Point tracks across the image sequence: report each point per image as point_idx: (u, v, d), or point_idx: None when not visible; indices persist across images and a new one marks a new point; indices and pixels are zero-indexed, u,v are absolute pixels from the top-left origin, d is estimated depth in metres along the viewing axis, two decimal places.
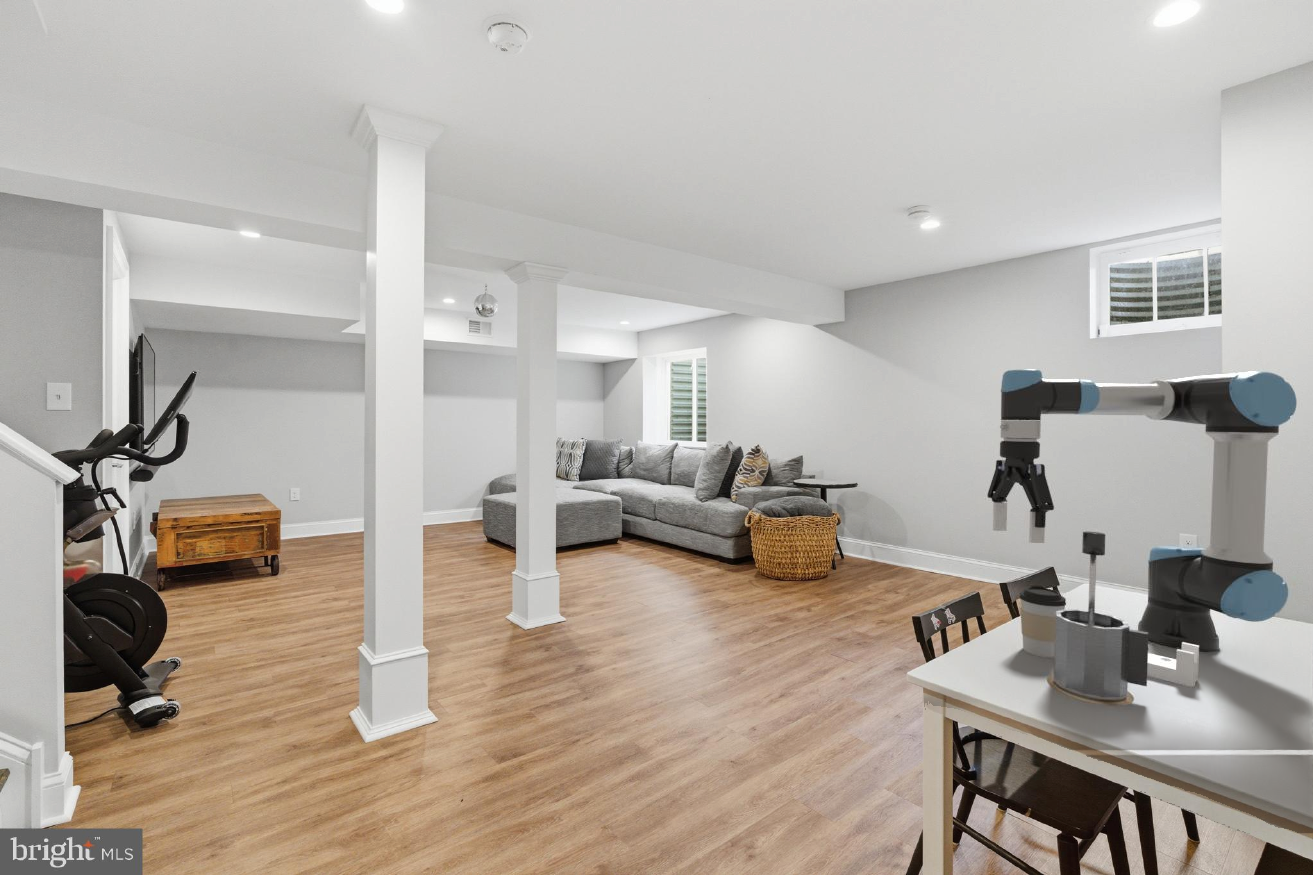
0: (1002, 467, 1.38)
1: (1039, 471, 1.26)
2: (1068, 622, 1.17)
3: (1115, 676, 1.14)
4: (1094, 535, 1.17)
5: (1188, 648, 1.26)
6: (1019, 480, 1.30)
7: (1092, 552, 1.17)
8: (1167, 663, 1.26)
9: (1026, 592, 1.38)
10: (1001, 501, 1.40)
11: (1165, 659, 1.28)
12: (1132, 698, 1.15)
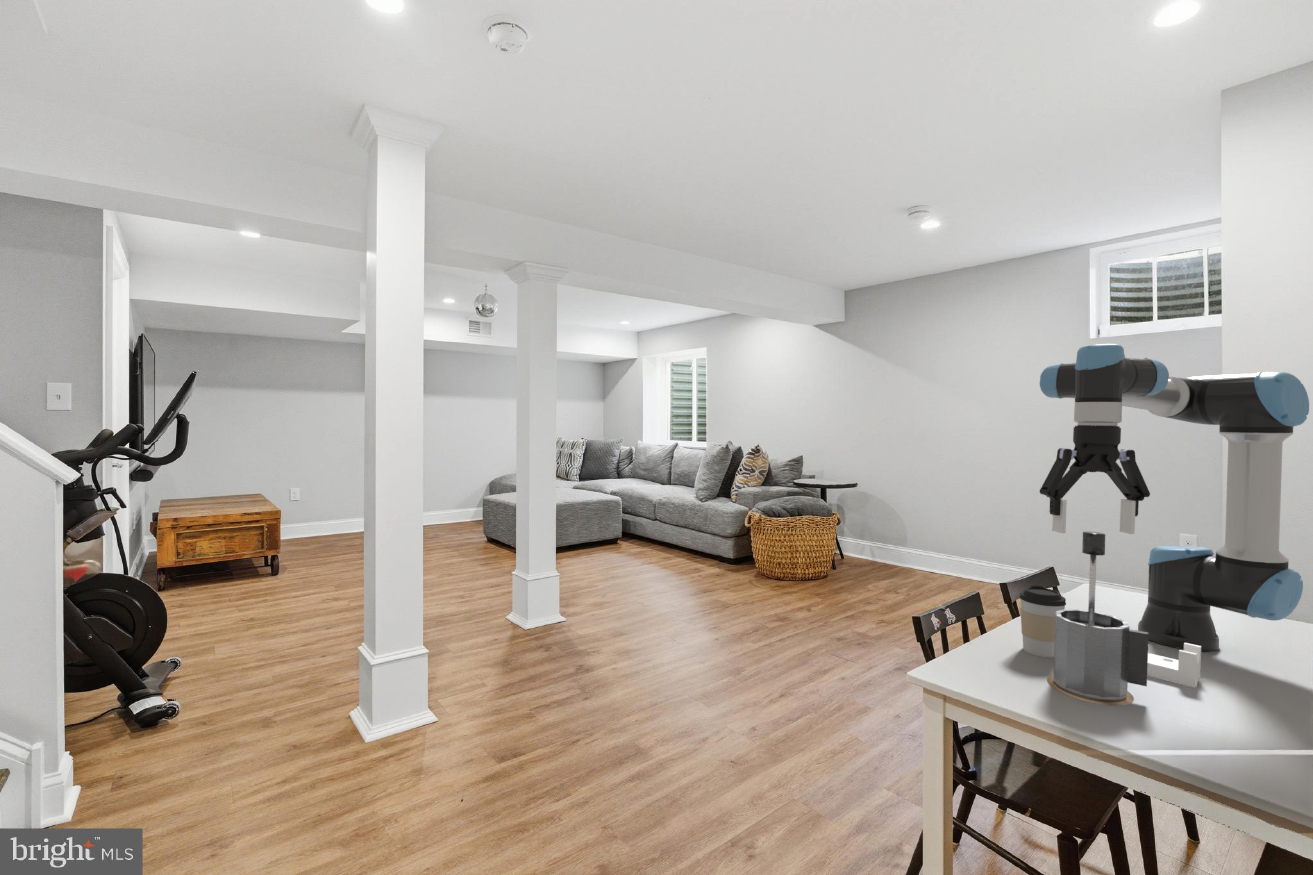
0: None
1: (1061, 456, 1.18)
2: (1068, 622, 1.17)
3: (1115, 676, 1.14)
4: (1094, 535, 1.17)
5: (1190, 649, 1.25)
6: None
7: (1092, 552, 1.17)
8: (1169, 663, 1.25)
9: (1026, 592, 1.38)
10: (1130, 499, 1.18)
11: (1167, 660, 1.28)
12: (1132, 698, 1.15)
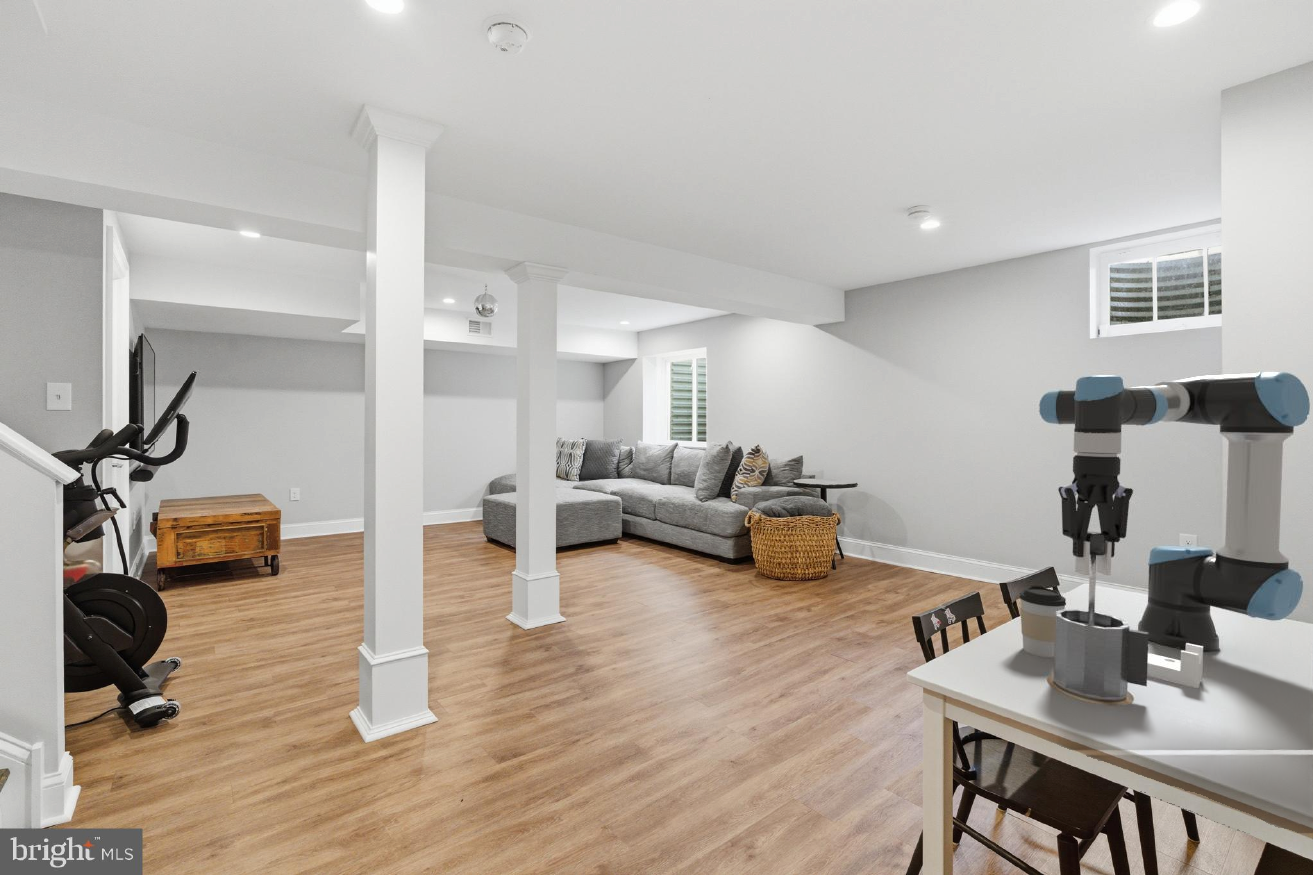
0: None
1: (1064, 496, 1.18)
2: (1068, 622, 1.17)
3: (1115, 676, 1.14)
4: (1094, 535, 1.17)
5: (1192, 649, 1.25)
6: None
7: (1092, 552, 1.17)
8: (1171, 664, 1.25)
9: (1026, 592, 1.38)
10: (1107, 540, 1.18)
11: (1169, 660, 1.28)
12: (1132, 698, 1.15)
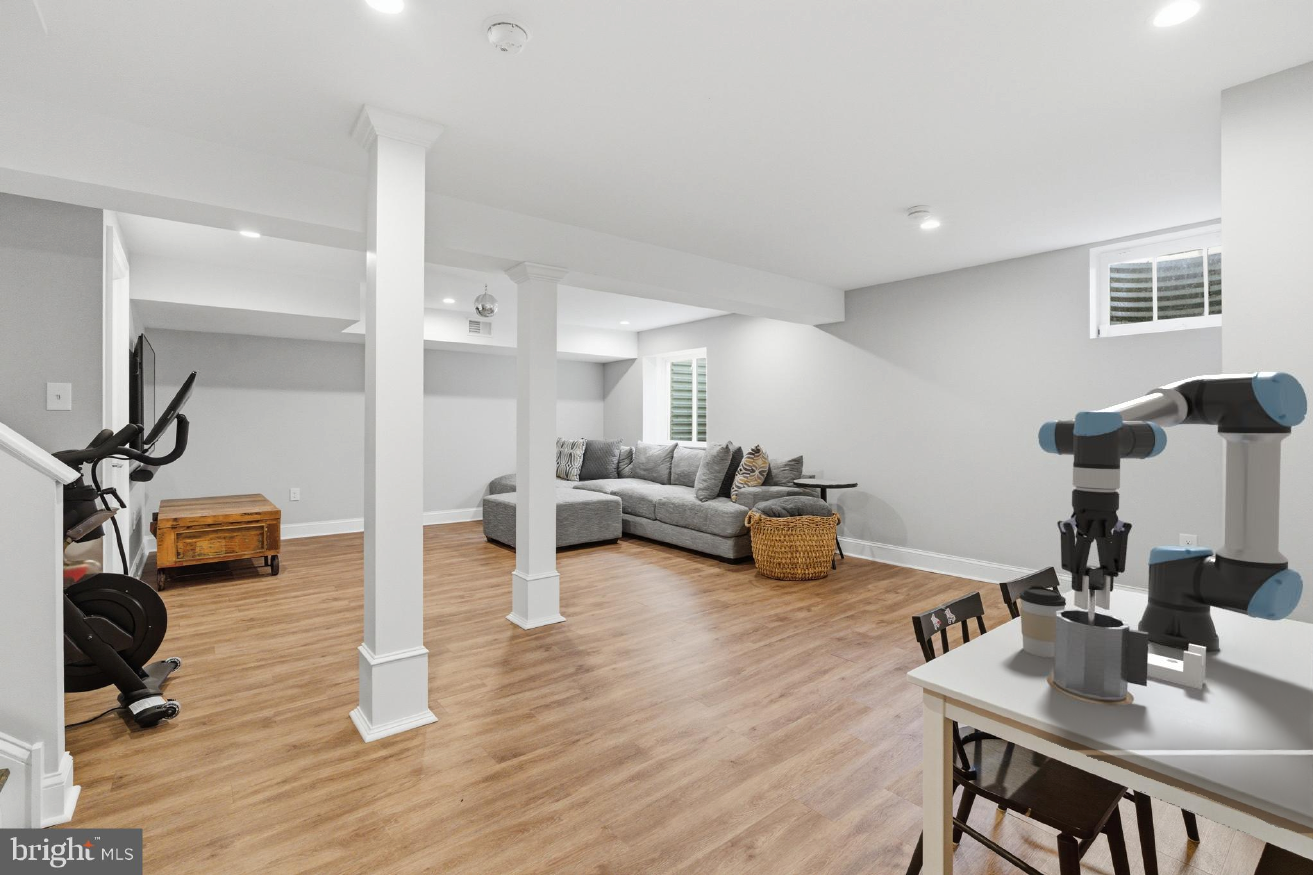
0: None
1: (1063, 530, 1.18)
2: (1068, 622, 1.17)
3: (1115, 676, 1.14)
4: (1093, 570, 1.17)
5: (1195, 650, 1.25)
6: None
7: (1091, 587, 1.17)
8: (1174, 665, 1.25)
9: (1026, 592, 1.38)
10: (1105, 574, 1.18)
11: (1172, 661, 1.28)
12: (1132, 698, 1.15)
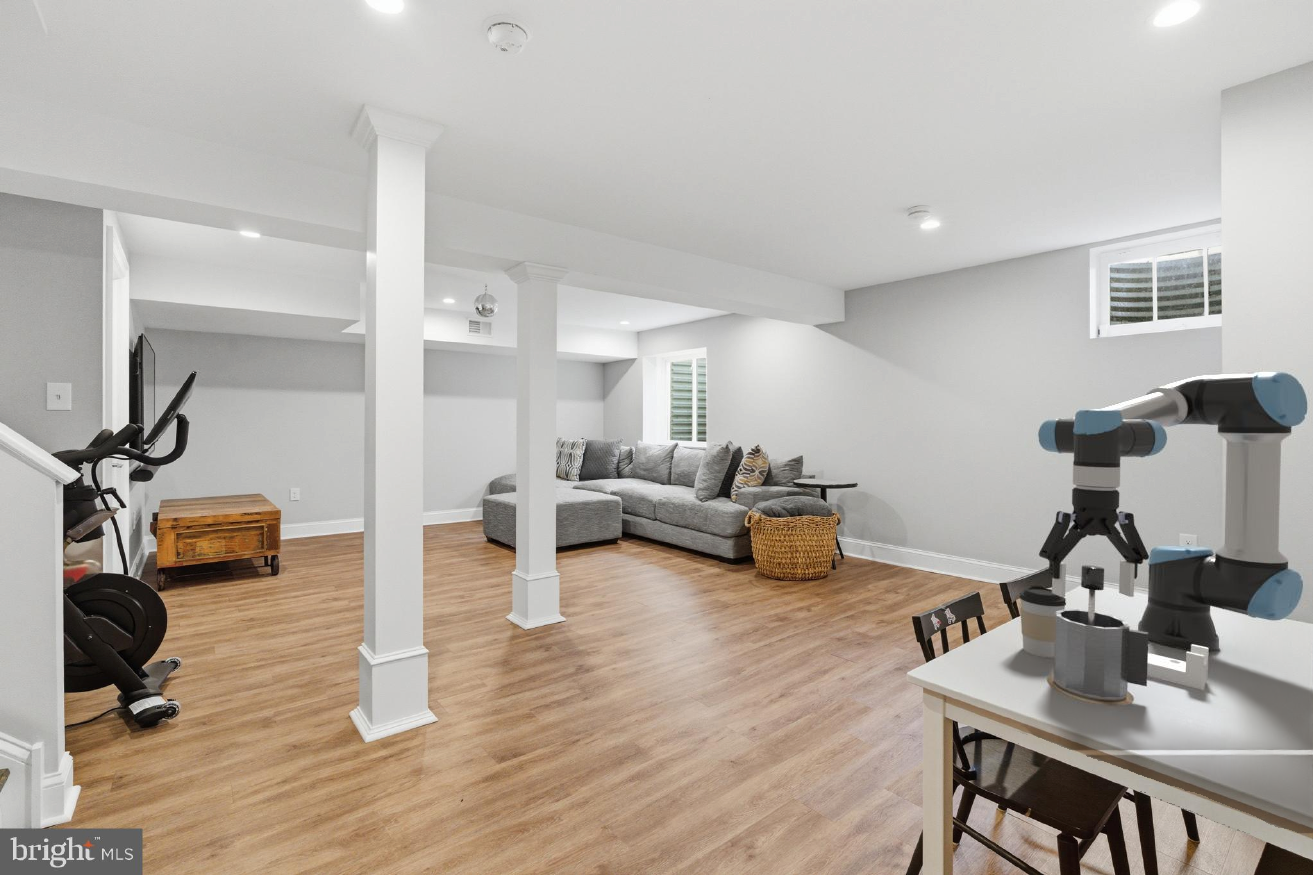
0: (1118, 519, 1.19)
1: (1060, 519, 1.18)
2: (1068, 622, 1.17)
3: (1115, 676, 1.14)
4: (1093, 570, 1.17)
5: (1197, 651, 1.24)
6: None
7: (1091, 587, 1.17)
8: (1176, 665, 1.25)
9: (1026, 592, 1.38)
10: (1129, 561, 1.18)
11: (1174, 661, 1.27)
12: (1132, 698, 1.15)
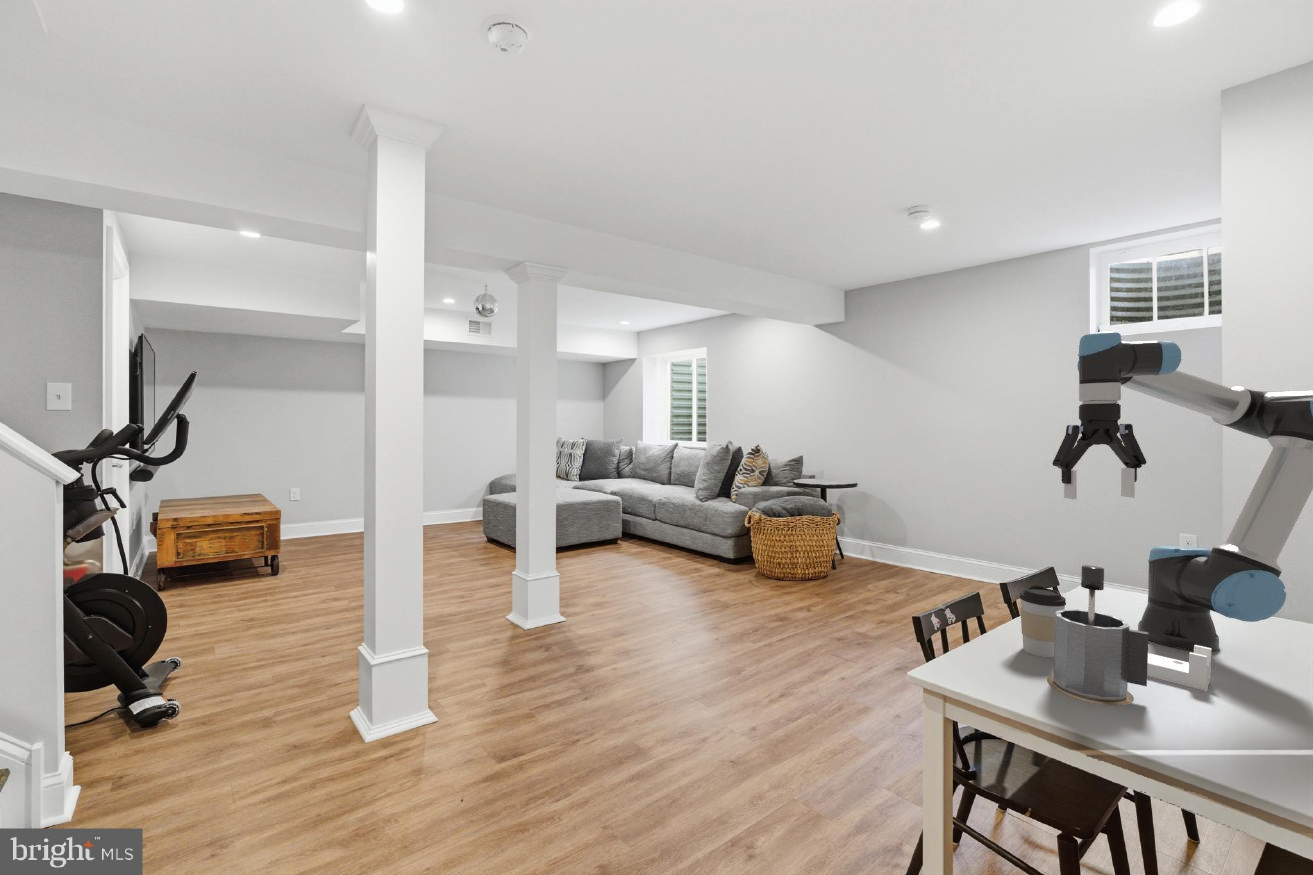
0: (1119, 431, 1.35)
1: (1070, 431, 1.34)
2: (1068, 622, 1.17)
3: (1115, 676, 1.14)
4: (1093, 570, 1.17)
5: (1200, 651, 1.24)
6: None
7: (1091, 587, 1.17)
8: (1179, 666, 1.24)
9: (1026, 592, 1.38)
10: (1130, 467, 1.35)
11: (1177, 662, 1.27)
12: (1132, 698, 1.15)
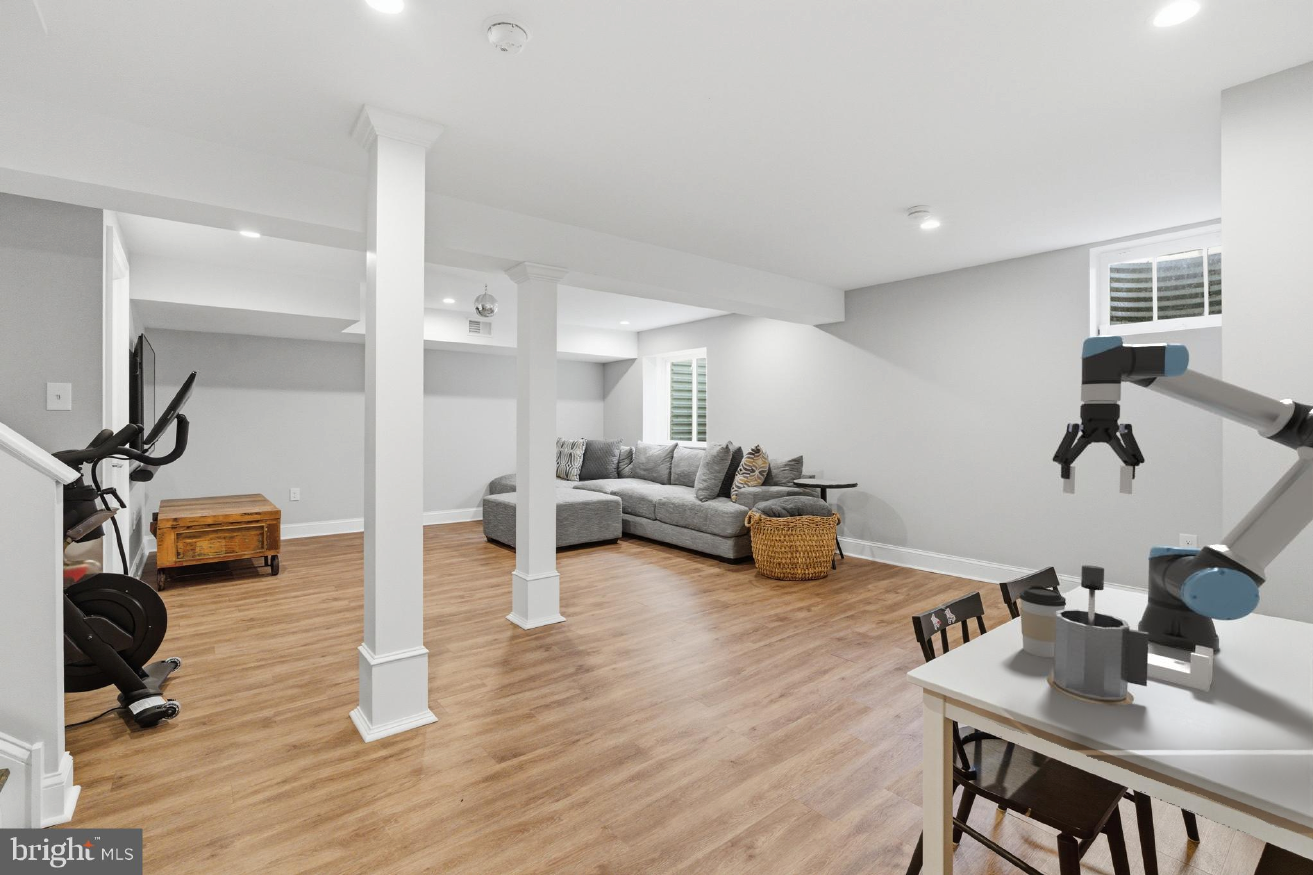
0: (1119, 430, 1.42)
1: (1070, 429, 1.41)
2: (1068, 622, 1.17)
3: (1115, 676, 1.14)
4: (1093, 570, 1.17)
5: (1202, 652, 1.24)
6: None
7: (1091, 587, 1.17)
8: (1181, 666, 1.24)
9: (1026, 592, 1.38)
10: (1128, 465, 1.41)
11: (1178, 662, 1.27)
12: (1132, 698, 1.15)
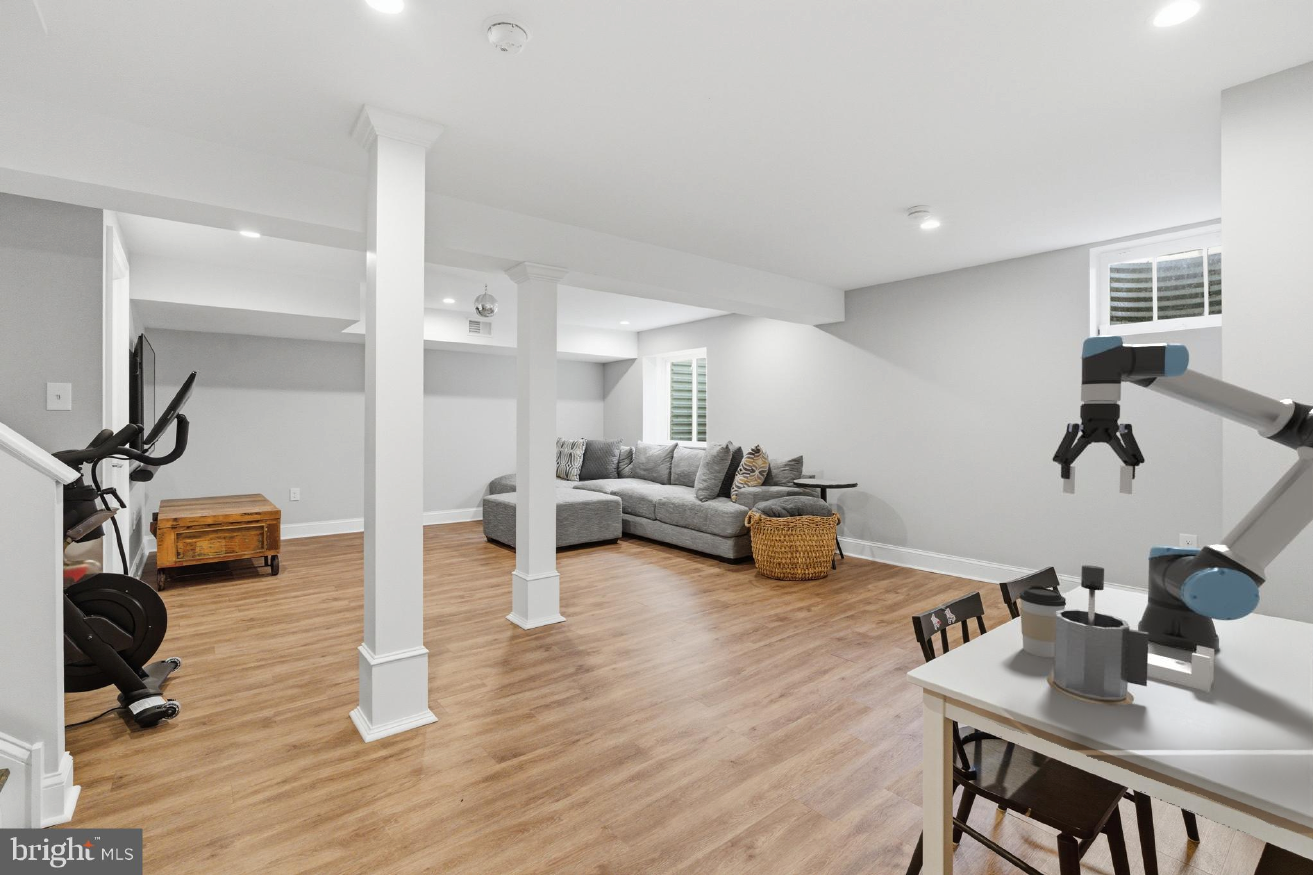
0: (1119, 430, 1.42)
1: (1070, 429, 1.41)
2: (1068, 622, 1.17)
3: (1115, 676, 1.14)
4: (1093, 570, 1.17)
5: (1203, 652, 1.24)
6: None
7: (1091, 587, 1.17)
8: (1182, 667, 1.24)
9: (1026, 592, 1.38)
10: (1128, 465, 1.41)
11: (1179, 663, 1.27)
12: (1132, 698, 1.15)
